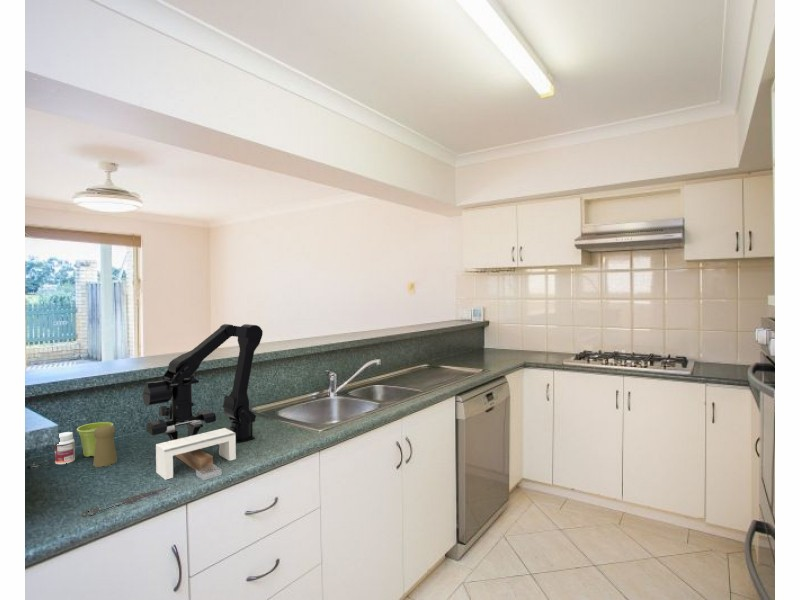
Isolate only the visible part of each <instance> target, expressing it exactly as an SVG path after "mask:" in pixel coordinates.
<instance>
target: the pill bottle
mask: <svg viewBox="0 0 800 600" xmlns="http://www.w3.org/2000/svg"><path fill="white" fill-rule="evenodd" d="M58 434H59V438H60V442H59V444H57V445H55V444H54V459H55V460H54V463H55V464H56V465H66V463H67V464H70V463H73V462H74V461H75V460H76V451H75V450H76V449H75V448H76V447H75V443H76V441H75V439H74V433H73V431H66V432H65V431H64V432H59V433H58Z"/></svg>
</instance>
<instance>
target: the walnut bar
mask: <svg viewBox="0 0 800 600" xmlns="http://www.w3.org/2000/svg"><path fill="white" fill-rule="evenodd" d="M180 438H182V437H179V436H178V439H180ZM168 441H171V440H170V439H169V440H168ZM175 456H176V457H175ZM173 457H175V458H177V459H178V458H179V460H180V461H181V462H183V463H184V464H186V465H187V466H189V467H190V468H191V469H193V470H194V471H196V469H199V468H202V467H206V466H209V465H213V464H214V456H213V455H211V454H210V453H208V452H206V451H205V450H203V449H202V448H201V449H197V450H193V451H189V452H186V453H182V454H178V455H174V456H173Z"/></svg>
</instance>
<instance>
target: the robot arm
mask: <svg viewBox="0 0 800 600" xmlns="http://www.w3.org/2000/svg"><path fill="white" fill-rule="evenodd" d="M263 333H264V332H263V328H261V327H260V325H256V324H250V323H249V324H248V323H246V324H242V325H241V326H238V325H233V324H229V323H228V324H227V323H224V324H221V325H220V327H219V328H218V329H216V330H215V331H214V332H213V333H212V334H210V335H209V336H208V337H206V338H205V339H204V340H203V341H201V342H200V343H199V344H198V345H197V346H195V347H194V348H193V349H191V350H190V351H188V352H185V353H183V354H182V353H181V355H178V356H177V357H175V358H173V359H171V361H170V362H169V363H168V368H167V370H166V371H165V373H164V374H163V375H162V377H161V378H160V380H158V381H157V380H156V381H146V382H145V386H144V388H143V392H142V400H143V404H144V405H145V406H146V407H149V406H154V405H159V404H164V403H165V404H166V403H169V401H170V400H171V402H170V403H169V407H168V406H167V405H161V406H159V407H158V416H159V418H164V417H165V420H169V421H164V420H163V419H156V420H152V421H148V422H147V424H146V430H145V431H146V433H148V434H150V435H151V436H156V435H161V434H165V435H166V436H168V438H169V440H171V441H172V440H176V439H178V438H179V433H178V430H177V429H176V427H178V426H183V425H187V437H189V436H193V435H197V434H199V431H200V429H201V428H203V427H204V424H202V422H204V423H205V424H210V423H214V422H216V421H217V417H216V413H215V412H213V411H210V410H209V409H206V410H201V411H197V412H196V414H195V415H193V407H195V406H194V405H195V403H194V402H193V385H194V384H198V383H200V381H199V379H197V378H196V377H195V376H194V374H195V373H196V372H197V370H198V369H199V367H200V366H201V364H202V362H203V361H204V360H205V359H206V358H207V357H208V356H209V355H211V354H212V353H213V352H215V351H216V350H217V348H219V347H220V346H222V345H223V344H224V343H225V342H227V340H228V339H230V338H231V337H234V338H235V337H236V338H237V343H238V346H239V351H238V352H239V353H238V357H237V365H236V369H235V375H234V381H233V384H232V385H233V386H232V390H231V392H230V394H229V395H224V398H223V399H224V400H223V405H222V408H223V413H224V414H225V416H227V417H228V419H229V420H230V423H231V424H230V425H231V426H230V427H229V430H230V431H233V432H235V435H236V443H238V444H239V443H242V442H246V441H250V440H254V439H256V436H255V435H254V434H253V433H254V432H253V431H254V429H253V428H254V425H253V424H254V422H255V421H256V418H257V415H256V414H255V413H254V412H252V411H251V410H250V399H249V395H248V389H249V383H250V377H251V373H252V372H251V371H252V367H253V360H254V356H255V355H254V354H255V352H256V350H257V348H258V347H259V345H260V343H261V341H262V338H263Z"/></svg>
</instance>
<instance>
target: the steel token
mask: <svg viewBox="0 0 800 600" xmlns="http://www.w3.org/2000/svg"><path fill="white" fill-rule="evenodd" d="M222 471H223V469H222V468H221V467H219V466H218V465H216V464H214V463H213V465H209V466H206V467H202V468H199V469H196V470H195V476H197V477H198V478H199V479H201V480H202V481H206V480H209V479H213V478H216V477H219V476H222V473H223V472H222Z"/></svg>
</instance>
